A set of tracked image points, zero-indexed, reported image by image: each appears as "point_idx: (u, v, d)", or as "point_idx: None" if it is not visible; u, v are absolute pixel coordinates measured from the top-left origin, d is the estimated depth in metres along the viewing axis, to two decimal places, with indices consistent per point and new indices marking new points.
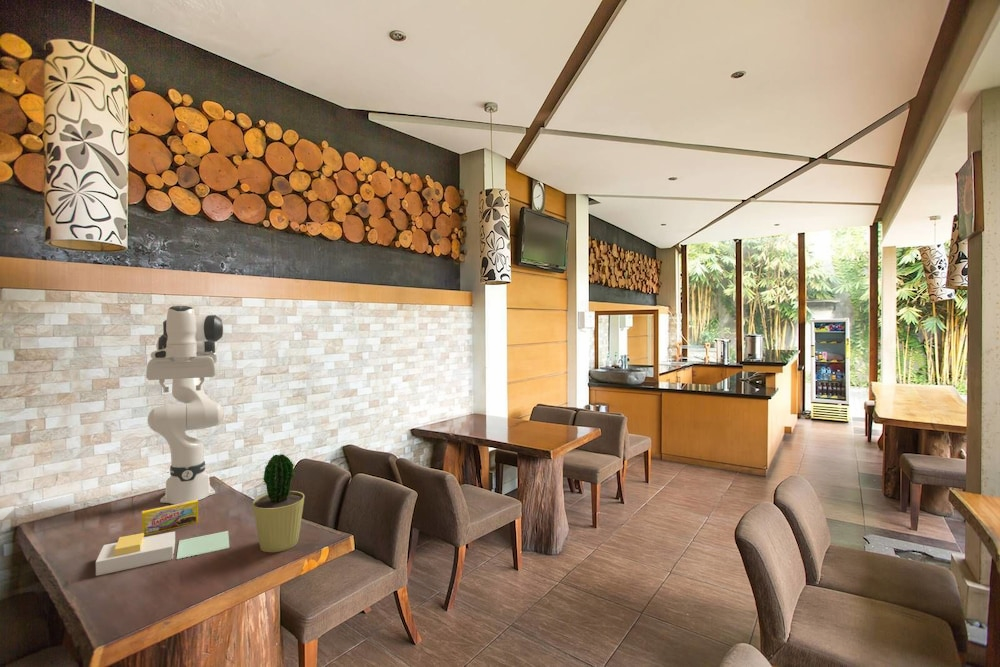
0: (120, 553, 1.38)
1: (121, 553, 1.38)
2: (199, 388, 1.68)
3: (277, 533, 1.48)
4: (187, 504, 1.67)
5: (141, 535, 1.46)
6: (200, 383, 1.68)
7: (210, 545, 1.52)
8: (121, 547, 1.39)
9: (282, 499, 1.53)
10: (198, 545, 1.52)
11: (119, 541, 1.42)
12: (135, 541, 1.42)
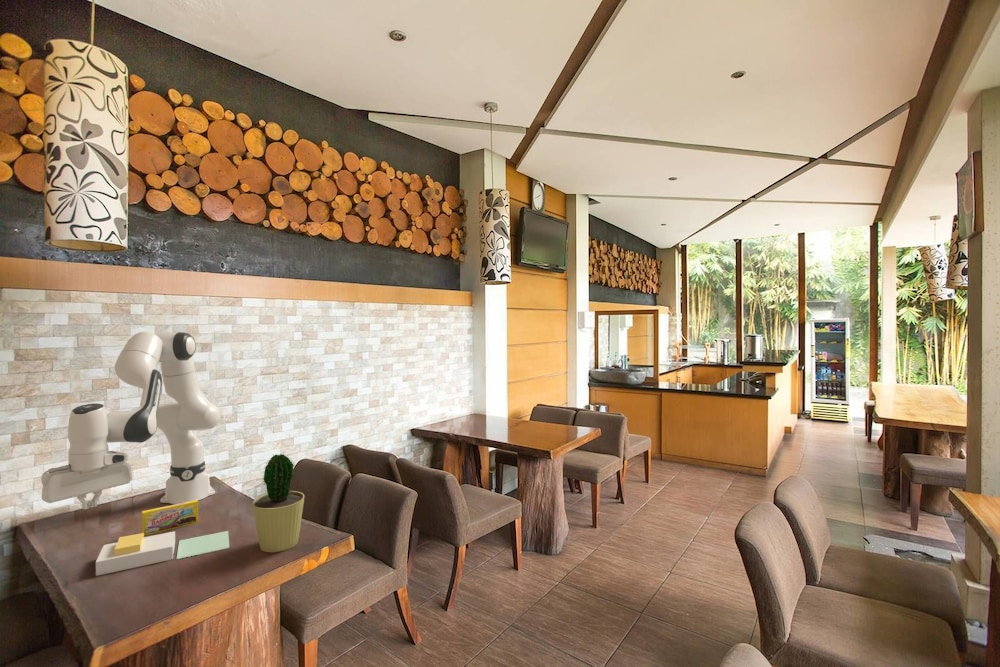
0: (120, 553, 1.38)
1: (121, 553, 1.38)
2: None
3: (277, 533, 1.48)
4: (187, 504, 1.67)
5: (141, 535, 1.46)
6: None
7: (210, 545, 1.52)
8: (121, 547, 1.39)
9: (282, 499, 1.53)
10: (198, 545, 1.52)
11: (119, 541, 1.42)
12: (135, 541, 1.42)
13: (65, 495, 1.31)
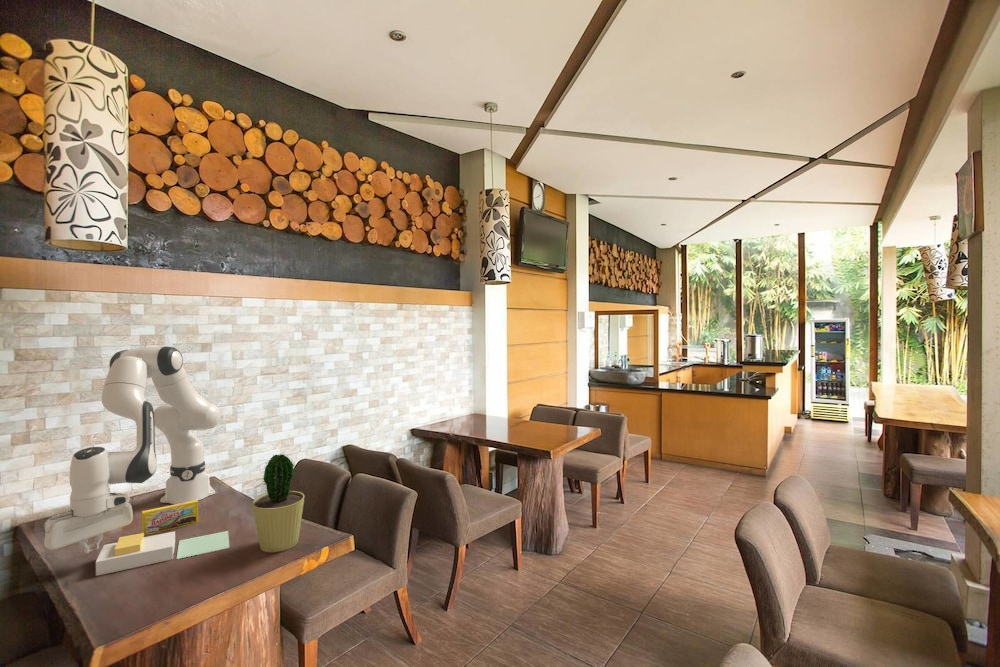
0: (120, 553, 1.38)
1: (121, 553, 1.38)
2: None
3: (277, 533, 1.48)
4: (187, 504, 1.67)
5: (141, 535, 1.46)
6: None
7: (210, 545, 1.52)
8: (121, 547, 1.39)
9: (282, 499, 1.53)
10: (198, 545, 1.52)
11: (119, 541, 1.42)
12: (135, 541, 1.42)
13: (68, 541, 1.32)
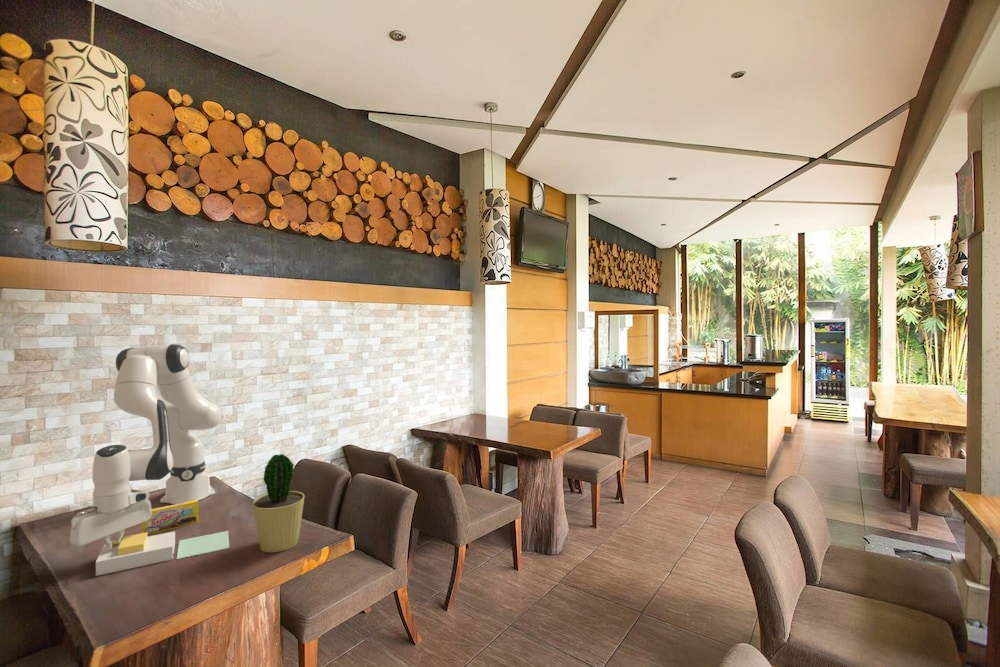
0: (123, 552, 1.39)
1: (124, 552, 1.39)
2: None
3: (277, 533, 1.48)
4: (187, 504, 1.67)
5: (145, 534, 1.47)
6: None
7: (210, 545, 1.52)
8: (125, 546, 1.39)
9: (282, 499, 1.53)
10: (198, 545, 1.52)
11: (123, 540, 1.43)
12: (139, 540, 1.43)
13: (93, 537, 1.34)
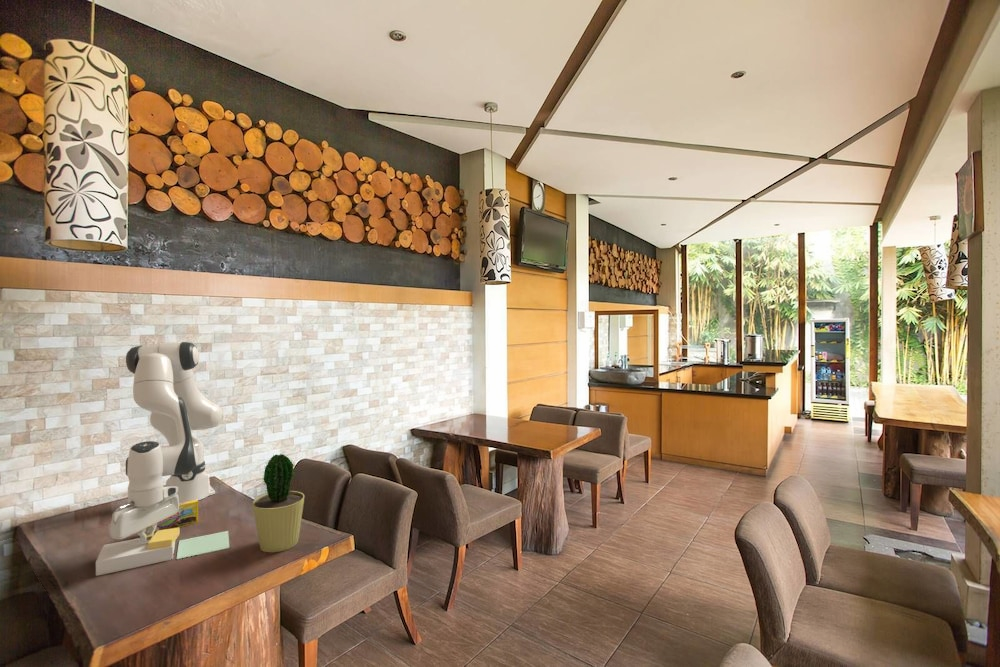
0: (153, 547, 1.42)
1: (154, 547, 1.42)
2: None
3: (277, 533, 1.48)
4: (187, 504, 1.67)
5: (176, 530, 1.50)
6: None
7: (210, 545, 1.52)
8: (155, 540, 1.43)
9: (282, 499, 1.53)
10: (198, 545, 1.52)
11: (155, 534, 1.47)
12: (169, 535, 1.46)
13: (133, 530, 1.39)
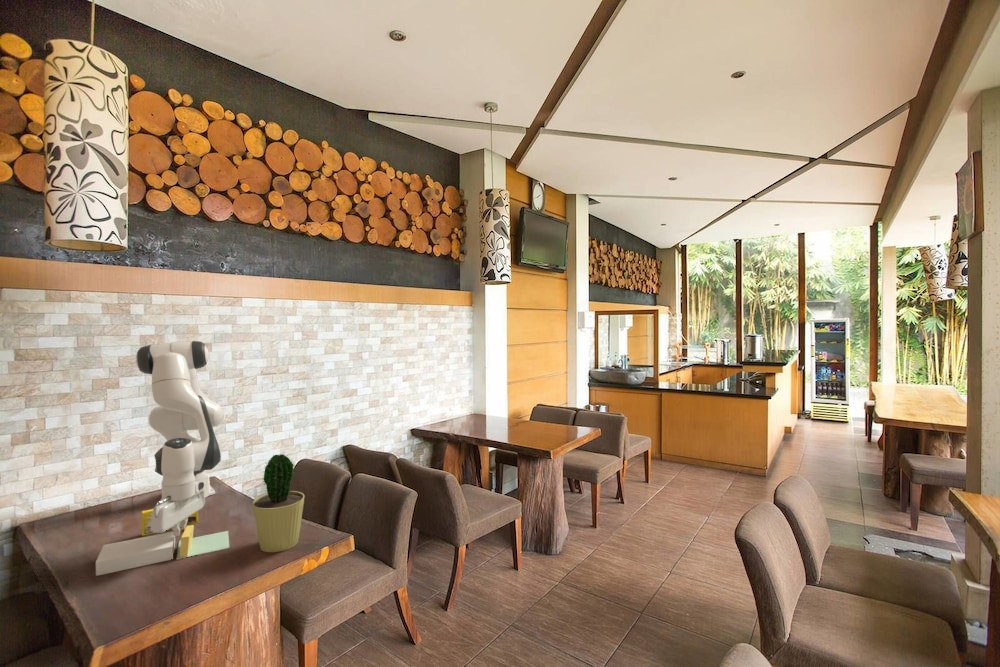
0: (182, 541, 1.44)
1: (182, 542, 1.44)
2: None
3: (277, 533, 1.48)
4: None
5: (191, 544, 1.51)
6: None
7: (210, 545, 1.52)
8: (189, 540, 1.46)
9: (282, 499, 1.53)
10: (198, 545, 1.52)
11: (192, 530, 1.50)
12: (189, 547, 1.48)
13: (171, 524, 1.43)
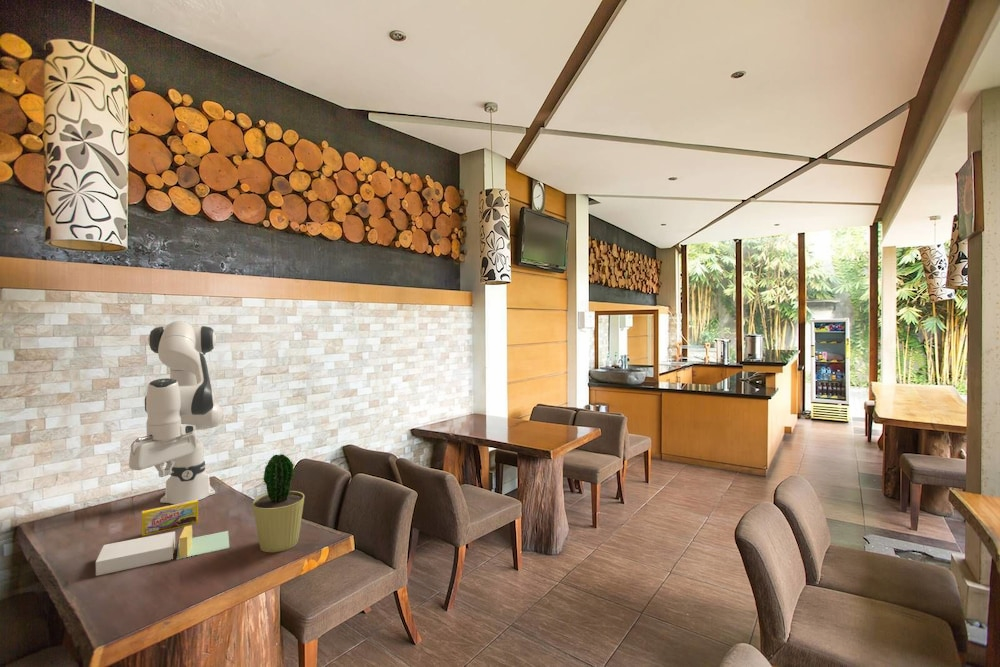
0: (181, 542, 1.44)
1: (180, 543, 1.44)
2: None
3: (277, 533, 1.48)
4: (187, 504, 1.67)
5: (191, 544, 1.51)
6: None
7: (210, 545, 1.52)
8: (187, 540, 1.46)
9: (282, 499, 1.53)
10: (198, 545, 1.52)
11: (190, 530, 1.50)
12: (189, 547, 1.48)
13: (151, 463, 1.41)
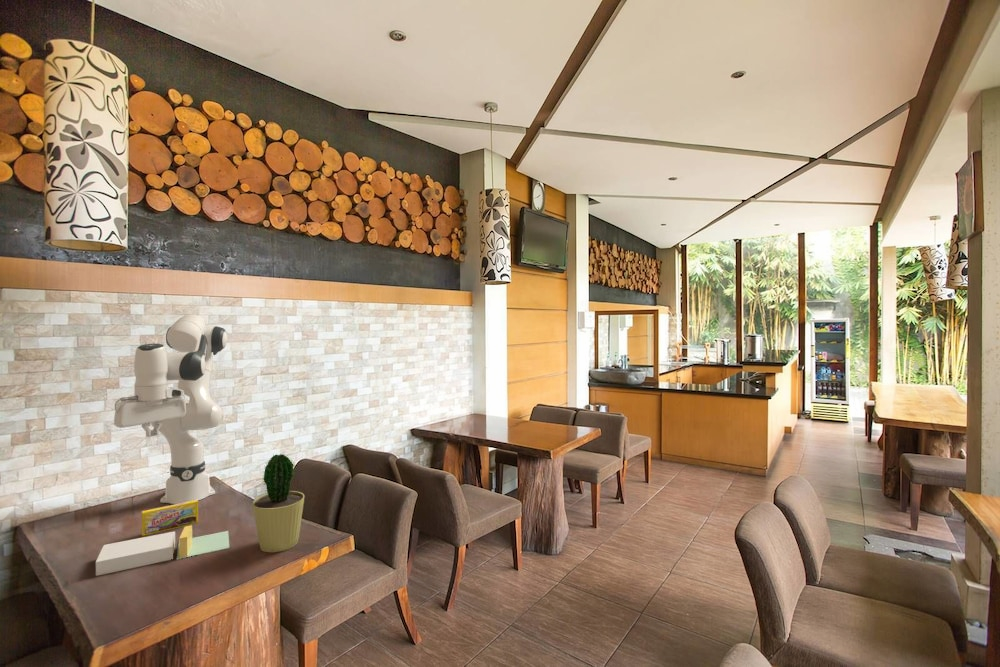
0: (181, 542, 1.44)
1: (180, 543, 1.44)
2: None
3: (277, 533, 1.48)
4: (187, 504, 1.67)
5: (191, 544, 1.51)
6: None
7: (210, 545, 1.52)
8: (187, 540, 1.46)
9: (282, 499, 1.53)
10: (198, 545, 1.52)
11: (190, 530, 1.50)
12: (189, 547, 1.48)
13: (134, 422, 1.48)
